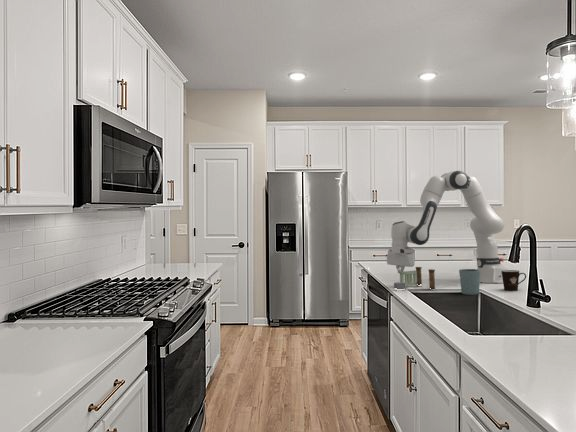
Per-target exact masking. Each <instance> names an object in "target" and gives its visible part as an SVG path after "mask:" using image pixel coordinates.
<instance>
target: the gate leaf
mask: <svg viewBox="0 0 576 432" xmlns="http://www.w3.org/2000/svg"><path fill="white" fill-rule="evenodd" d="M399 282H403V283H405V287H407V286H408V285H410V286H417V271H416V270H406V271H405V270H404V271H403V272H400V274H399ZM408 287H409V286H408Z"/></svg>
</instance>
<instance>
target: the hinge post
mask: <svg viewBox="0 0 576 432" xmlns="http://www.w3.org/2000/svg"><path fill="white" fill-rule="evenodd" d="M415 271H417V284H418V285H420V284H422V285H423V283H422V282H423V281H422V267H421V266H415Z"/></svg>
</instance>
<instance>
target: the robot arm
mask: <svg viewBox="0 0 576 432" xmlns="http://www.w3.org/2000/svg"><path fill="white" fill-rule="evenodd" d="M457 190H460V192H461V193H462V195H463V196H462V197H463V198H464V201H465V203H466V205H467V208H468V210H469V211H470V212H471V213H472V214H473V216H474V217H473V218H472V219H471V220H470V222H469V226H470V227H469V228H470V229H471V231H472V232H473V235H474V238H475V242H476V243H475V244H476V251H477V257H476V266H477V269H478V270H480V283H481V282H482V284H483V283H484V284H503V278H502V272H501V271H502V270H509V268H507V267H506V266H505V265H503V264H502V263H503V262H505V259H504V258H503V257H499V253H498V252H499V251H498V243H497V241H496V240H495V237H494V235H496V234H500V233H501V232H502V231H503V229H504V228H505V223H504V222H505V221H504V220H503V219H502V218H501V217H500V216H499V215H497V213H496V212H495V211H494V209H493V207H491V205H490V203H489V201H488V199H487V197H486V194H485V192H484V190H483V188H482V186H481V184H480V182H479V181H478V179H477V177H474V176H473V175H469V176H468V174H467V173H466V172H464V171H462V170H453V171H450V172H446V173H443V174H442V175H441V176H439V175H434V176H431V177H430V178H429V179H428V180H427V183H426V185H425V186H424V189H423V190H422V192H421V195H420V200H419V204H420V205H421V206H422V214H421V217H420V220H419V222H418V224H417V225H416V226H414V225H411V224H409V223H408V222H406V221H404V220H402V221H397V222H393V223H392V225H391V235H390V236H391V237H390V238H391V240H392V241H391V248H389V249H388V250H387V254H386V255H387V256H386V264H387V265H388V266H389V265H390V266H395V267H396V270H397V274H398V275H400V272H404V271H405V268H407V267H408V268H413V267H414V266H415V255H414V253H415V250H414V248H412V247H411V246H408V243H411V244H414V245H417V246H422V245H426V243H428V241H429V239H430V230H431V229H430V228H431V226H432V224H433V223H432V222H433V220H434V217H435V215H436V212H437V209H438V206H439V205H440V202H441V200H442V198H443V195H444V193H445V192H447V191H448V192H450V191H457ZM501 262H502V263H501Z"/></svg>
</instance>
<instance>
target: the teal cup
mask: <svg viewBox="0 0 576 432" xmlns="http://www.w3.org/2000/svg"><path fill="white" fill-rule="evenodd" d="M458 272H459V283H460V292H461V294H463V295H466V296H467V295H469V296H470V295H471V296H472V295H474V296H475V295H479V294H480V283H481V282H480V270H478V268H477V269H475V268H463V269H461V268H460V269H459V270H458Z"/></svg>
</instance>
